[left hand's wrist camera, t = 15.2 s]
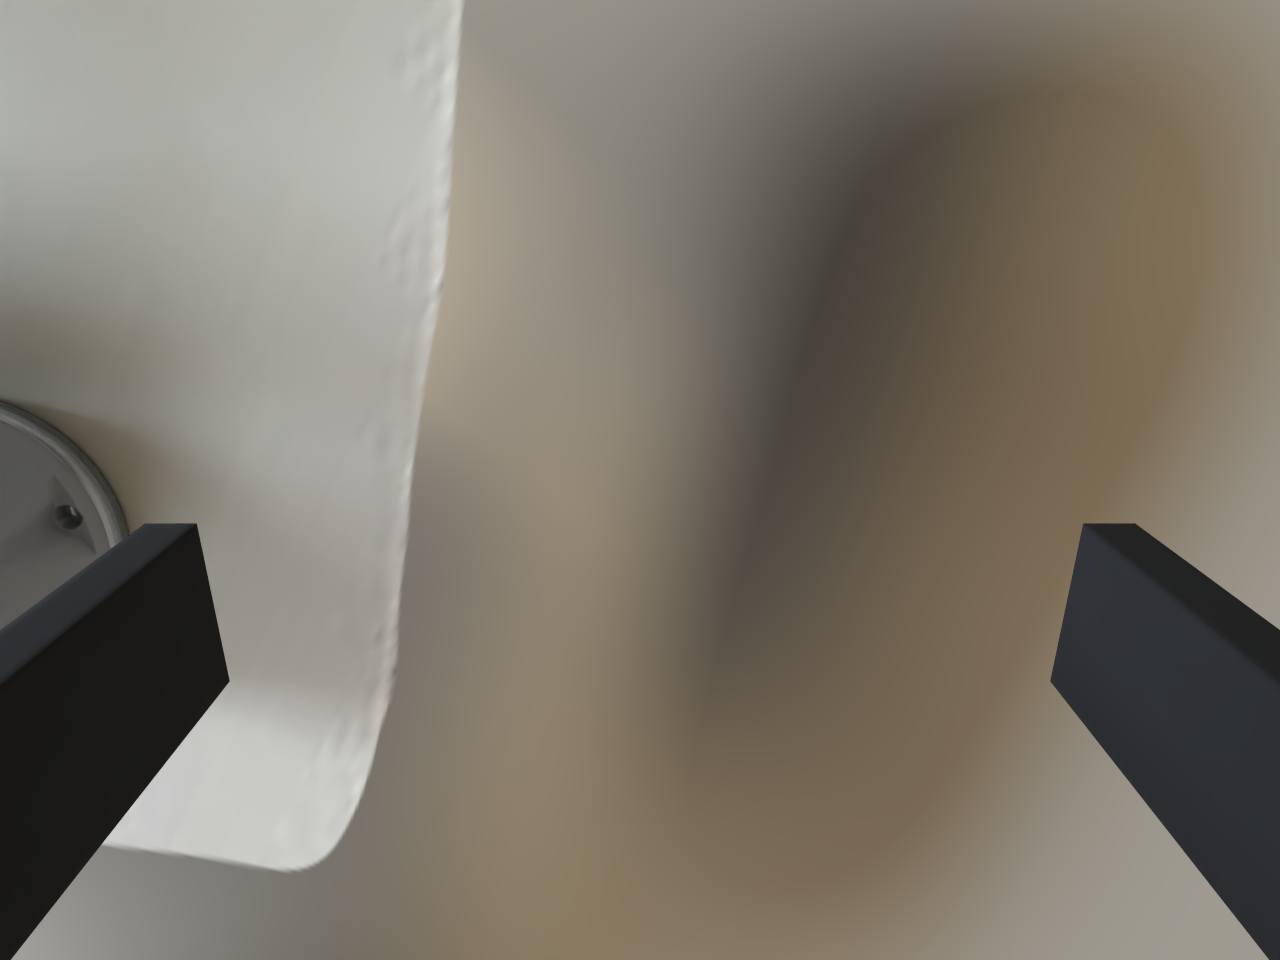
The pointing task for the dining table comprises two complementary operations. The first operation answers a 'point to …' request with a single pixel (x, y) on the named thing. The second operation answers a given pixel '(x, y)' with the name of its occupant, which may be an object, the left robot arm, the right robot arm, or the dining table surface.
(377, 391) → the dining table surface
